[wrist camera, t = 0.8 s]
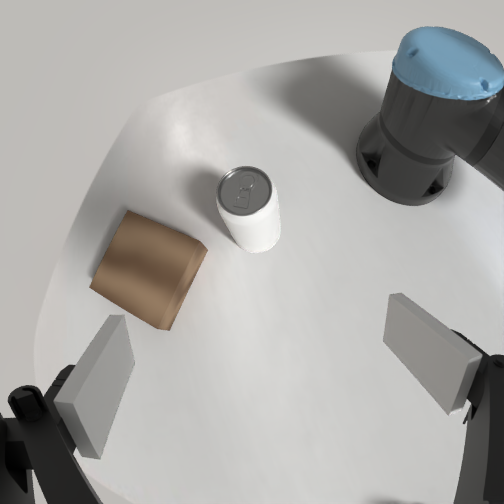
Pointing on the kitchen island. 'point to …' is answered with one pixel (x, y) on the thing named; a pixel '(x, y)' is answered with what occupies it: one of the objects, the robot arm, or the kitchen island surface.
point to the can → (249, 208)
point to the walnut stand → (148, 269)
